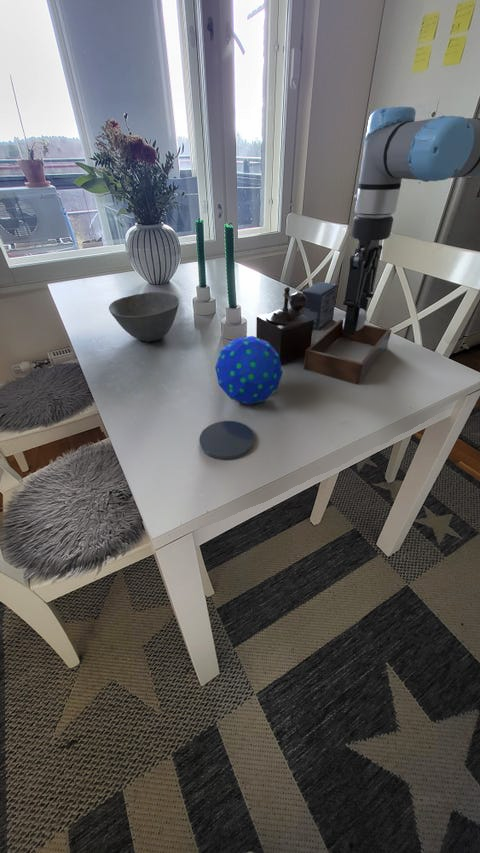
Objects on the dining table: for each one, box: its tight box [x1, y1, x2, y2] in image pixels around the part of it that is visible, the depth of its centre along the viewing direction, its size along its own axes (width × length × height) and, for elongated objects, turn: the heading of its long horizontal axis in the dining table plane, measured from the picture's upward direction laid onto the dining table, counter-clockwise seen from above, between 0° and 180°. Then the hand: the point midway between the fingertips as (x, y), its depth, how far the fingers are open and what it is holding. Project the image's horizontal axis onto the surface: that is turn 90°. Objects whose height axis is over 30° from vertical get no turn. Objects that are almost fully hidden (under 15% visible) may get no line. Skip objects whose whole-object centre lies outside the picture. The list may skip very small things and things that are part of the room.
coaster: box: [198, 420, 255, 461], centre depth 63 cm, size 10×10×1 cm
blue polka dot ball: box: [215, 335, 283, 405], centre depth 72 cm, size 14×14×15 cm
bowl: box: [108, 291, 180, 342], centre depth 96 cm, size 19×19×10 cm
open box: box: [303, 319, 392, 386], centre depth 85 cm, size 14×22×5 cm, turn 146°
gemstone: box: [343, 308, 368, 331], centre depth 81 cm, size 6×6×5 cm
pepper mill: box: [255, 286, 314, 365], centre depth 83 cm, size 16×11×18 cm
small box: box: [302, 281, 338, 331], centre depth 102 cm, size 11×6×10 cm, turn 144°
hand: (353, 329), depth 82 cm, fingers closed on gemstone, 5 cm apart
